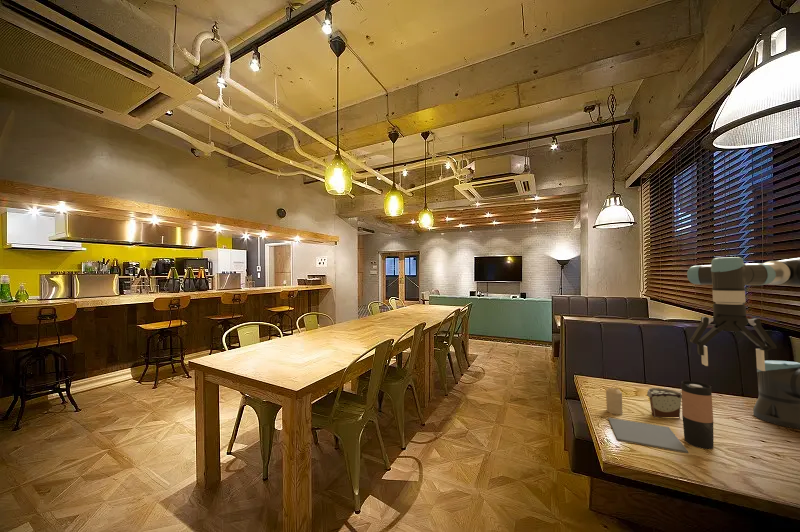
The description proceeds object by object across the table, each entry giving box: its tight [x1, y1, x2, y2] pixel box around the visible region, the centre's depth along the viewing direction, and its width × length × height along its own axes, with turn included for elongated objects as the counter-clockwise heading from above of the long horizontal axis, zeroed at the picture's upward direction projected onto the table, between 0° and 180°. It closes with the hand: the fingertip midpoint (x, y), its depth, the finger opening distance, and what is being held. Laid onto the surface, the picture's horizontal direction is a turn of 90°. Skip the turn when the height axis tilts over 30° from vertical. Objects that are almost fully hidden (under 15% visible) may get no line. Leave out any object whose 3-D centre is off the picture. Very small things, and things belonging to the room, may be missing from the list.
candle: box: [605, 386, 623, 415], centre depth 131 cm, size 6×6×10 cm
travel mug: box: [680, 380, 714, 450], centre depth 105 cm, size 8×8×20 cm
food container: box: [646, 387, 682, 419], centre depth 128 cm, size 12×6×10 cm, turn 84°
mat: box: [607, 417, 689, 454], centre depth 112 cm, size 19×18×1 cm
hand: (732, 367), depth 102 cm, fingers open, 13 cm apart
